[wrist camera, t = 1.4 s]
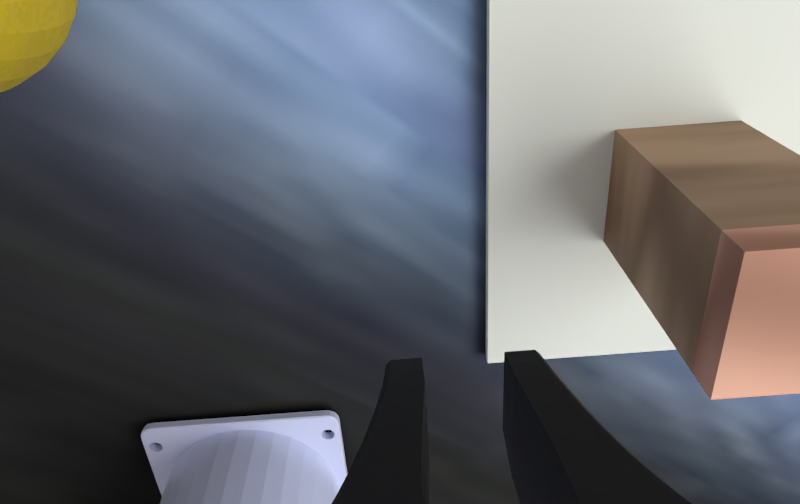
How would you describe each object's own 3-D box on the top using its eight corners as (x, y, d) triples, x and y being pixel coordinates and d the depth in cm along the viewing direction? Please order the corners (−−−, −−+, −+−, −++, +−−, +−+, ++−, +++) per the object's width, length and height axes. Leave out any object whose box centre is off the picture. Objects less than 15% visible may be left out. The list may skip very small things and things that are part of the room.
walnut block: (718, 232, 22) (879, 387, 15) (603, 241, 22) (710, 399, 15) (741, 120, 20) (938, 237, 13) (615, 129, 20) (744, 251, 13)
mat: (943, 321, 25) (953, 329, 24) (485, 355, 25) (487, 363, 24) (1116, -82, 18) (1134, -81, 18) (486, -36, 18) (489, -34, 18)
